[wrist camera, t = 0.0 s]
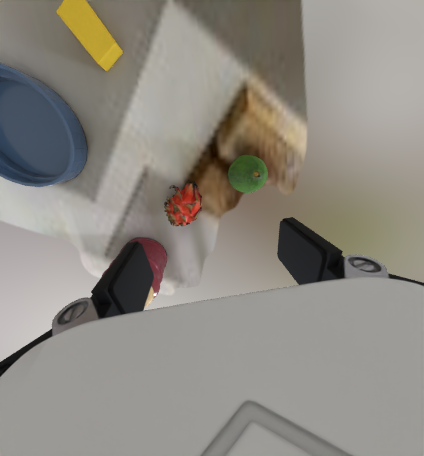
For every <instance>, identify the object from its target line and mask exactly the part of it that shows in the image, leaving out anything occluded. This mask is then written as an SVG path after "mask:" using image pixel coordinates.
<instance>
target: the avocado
mask: <svg viewBox="0 0 424 456" xmlns="http://www.w3.org/2000/svg"><path fill="white" fill-rule="evenodd" d="M267 176H268V171H267V168H266V165H265V164H264V162H263V161H262V160H261V159H259V158H258V157H255V156H250V155H243V156H240V157H238V158H237V159H236V160H235V161H234V162H233V163H232V165H231V166H230V168H229V172H228V178H229V181H230V183H231V185H232V186H233V187H234V188H235V189H237V190H238V191H240V192H244V193H250V192H254V191H256V190H258V189H260V188H261V187H262V186H263V185H264V183H265V182H266V180H267Z"/></svg>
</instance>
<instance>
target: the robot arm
mask: <svg viewBox="0 0 424 456" xmlns="http://www.w3.org/2000/svg"><path fill="white" fill-rule="evenodd" d="M277 254H278V258H279V260H280V261H281V262H282V263H283V265H284V266H285V267H286V269H287V270H288V271H289V273H290V274H291V275H292V276H293V278H294V279H295V280H296V282H297V283H298V284H299V285H296V286H290V287H283V288H277V289H271V290H266V291H258V292H252V293H246V294H240V295H234V296H229V297H222V298H216V299H210V300H204V301H198V302H192V303H186V304H180V305H175V306H169V307H163V308H157V309H152V310H145V311H143V310H144V307H145V304H146V301H147V298H148V295H149V292H150V289H151V286H152V283H153V280H154V273H153V271H152V268H151V266H150V263H149V261H148V258H147V255H146V253H145V250H144V248H143V245H142V243H139V242H138V241H135V242H128V243H127V244H126V246H125V247H124V248H123V250H122V251H121V252H120V254H119V255H118V256H117V258H116V259H115V260H114V262H113V263H112V264H111V266H110V267H109V268H108V270H107V271H106V272H105V274H104V275H103V276H102V278H101V279H100V280H99V282H98V283H97V284H96V286H95V287H94V289H93V290H92V291H91V293H92V294H93V295H92V297H91V298H81V299H78V300H76V301H74V302H72V303H70V304H69V305H67V306H65V308H63V309H62V310H61V311H60V312H59V313H58V314H57V315H56V316H55V318H54V319H53V322H52V329H51V330H49V331H48V332H46V333H45V334H43V335H41V336H40V337H38V338H37V339H35V340H34V341H32V342H31V343H29V344H28V345H26V346H25V347H23V348H21V349H20V350H18V351H17V352H16V353H14V354H12V355H11V356H9V357H7V358H6V359H4V360H3V361H1V362H0V456H424V283H422V282H418V281H415V280H411V279H407V278H403V277H399V276H396V275H392V274H388V272H387V269H386V268H385V266H384V265H383V264H382V263H380V262H378V261H377V260H375V259H373V258H370V257H367V256H363V255H348V256H346V257H343V256H342V251H341V250H340V249H338V248H337V247H335V246H334V245H333V244H331V243H330V242H328V241H327V240H325V239H324V238H322V237H321V236H319V235H318V234H316V233H315V232H314V231H312V230H311V229H309V228H308V227H306V226H305V225H303V224H302V223H300V222H299V221H298V220H296V219H295V218H293V217H291V218H285V219H283V220H282V221H281V222H280V229H279V242H278V253H277Z"/></svg>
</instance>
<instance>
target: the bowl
mask: <svg viewBox="0 0 424 456" xmlns="http://www.w3.org/2000/svg"><path fill="white" fill-rule="evenodd" d="M86 157H87V145H86V140H85V135H84V132H83V130H82V128H81V125H80V123H79V121H78V119H77V118H76V116H75V115H74V113H73V112H72V110H71V109H70V107H69V106H68V105H67V104H66V103H65V102H64V101H63V99H62V98H61V97H60V96H59V95H58V94H57V93H56V92H55V91H53V90H52V89H51V88H49V87H48V86H46V85H45V84H44V83H42V82H41V81H39V80H38V79H35V78H33V77H31V76H29V75H27V74H24V73H22V72H20V71H18V70H16V69H13V68H11V67H9V66H7V65H5V64H2V63H0V176H1V177H3V178H5V179H7V180H9V181H12V182H15V183H19V184H22V185H25V186H34V187H43V186H50V185H55V184H59V183H63V182H67V181H69V180H71V179H73V178H75V177H76V176H77V175H78V174H79V173H80V172H81V171H82V169H83V167H84V165H85V162H86Z"/></svg>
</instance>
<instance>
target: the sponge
mask: <svg viewBox="0 0 424 456" xmlns="http://www.w3.org/2000/svg"><path fill="white" fill-rule="evenodd" d="M56 12H57V14H58V15H59V16H60V17H61V19H62V20H63V21H64V22H65V24H66V25H67V26H68V27H69V29H70V30H71V31H72V32H73V34H74V35H75V36H76V37H77V39H78V40H79V41H80V42H81V44H82V45H83V46H84V47H85V48H86V50H87V51H88V52H89V53H90V55H91V56H92V57H93V58H94V60H95V61H96V62H97V63H98V64H99V65H100V66H101V67H102V68H103V69H104V70H105V71H108V70H109V69H110V68H111V66H112V65H113V64H114V63H115V62H116V61H117V59H118V58H119V57H120V56H121V55H122V53H123V51H122V50H121V48H120V47H119V45H118V44H117V43H116V41H115V40H114V39H113V37H112V36H111V34H110V33H109V32H108V30H107V29H106V27H105V26H104V25H103V23H102V22H101V21H100V19H99V18H98V16H97V15H96V14H95V12H94V11H93V10H92V8H91V7H90V5H89V4H88V3H87V1H86V0H64V1H63V2H62V4H61V5H60V7H59V8H58V10H57V11H56Z"/></svg>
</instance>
